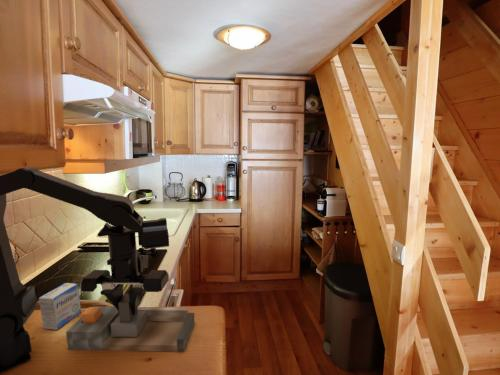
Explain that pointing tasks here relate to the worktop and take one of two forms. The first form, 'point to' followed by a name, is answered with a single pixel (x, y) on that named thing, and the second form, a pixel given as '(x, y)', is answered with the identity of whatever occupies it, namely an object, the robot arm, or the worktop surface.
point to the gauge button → (91, 315)
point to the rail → (150, 338)
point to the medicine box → (60, 306)
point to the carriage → (128, 320)
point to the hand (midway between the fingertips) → (128, 313)
